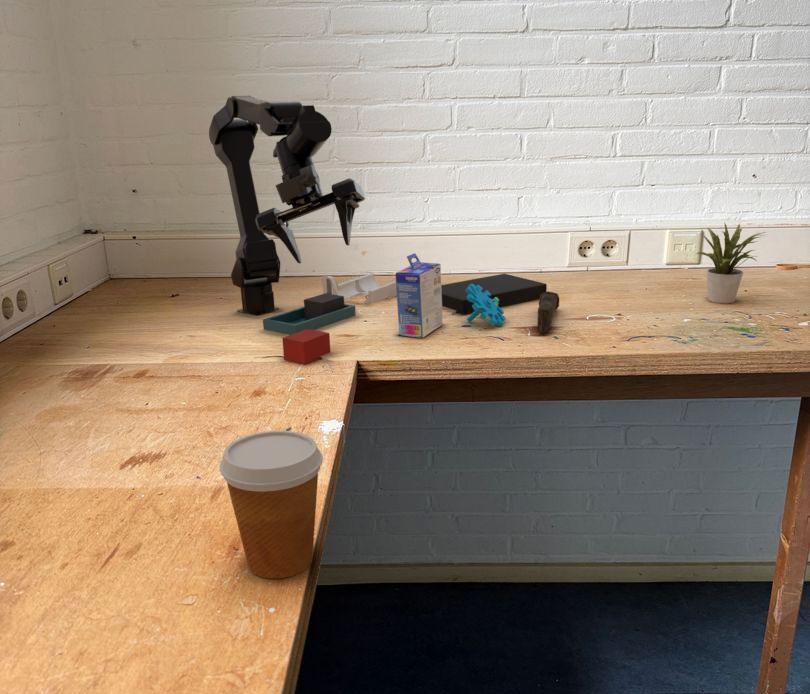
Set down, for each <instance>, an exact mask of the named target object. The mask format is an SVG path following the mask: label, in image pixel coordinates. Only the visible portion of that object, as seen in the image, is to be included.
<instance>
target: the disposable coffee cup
mask: <svg viewBox="0 0 810 694" xmlns="http://www.w3.org/2000/svg"><path fill="white" fill-rule="evenodd" d="M323 459H324V457H323V453H322V452H321V450H319V447H318V445H317V442H316V440H315V439H314V438H313V437H311V436H310V435H308V434H305V433H302V432H298V431H294V430H293V431H291V430H266V431H260V432H259V431H258V432H254V433H251V434H248V435H245V436H242V437H239V438H237V439H235V440H233V441H232V442H229V444H228V445H227V446H225V448H224V451H223V453H222V459H221V460H220V462H219V472H220V474H221V476H222V477H223V479H224V480H225V482H226V484H227V488H228V492H229V496H230V501H231V505H232V508H233V512H234V516H235V520H236V524H237V528H238V532H239V534H240V539H241V543H242V547H243V550H244V551H243V552H244V556H245V559H246V564H247V568H248V570H249V571H250V572H251V573H252V574H254V575H255V576H257V577H260V578H264V579H285V578H290V577H292V576H297V575H299V574H300V573H302V572H304V571H305V570H306V569H307V568H308V567H309V566H310V565H311V564H312V562H313V559H314V558H313V556H314V555H313V554H314V540H315V526H316V513H317V512H316V511H317V510H316V509H317V498H318V497H317V496H318V483H319V482H318V481H319V472H320V470H321V466H322V464H323V461H324V460H323Z"/></svg>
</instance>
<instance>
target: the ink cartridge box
mask: <svg viewBox="0 0 810 694" xmlns="http://www.w3.org/2000/svg"><path fill="white" fill-rule="evenodd" d="M406 259H407V260H408V263H409V266H407V267H405V268H403V269H401V270H399V271H397V272H395V281H396V290H397V296H396V302H397V303H396V304H397V321H398V332H399V333H398V335H399V336H402V337H410V338H420V339H421V338H422V339H423V338H425V337H426V336H428V335H429V334H430V333H432V332H433V331H436V330H437V329H438V328H440V327H442V326H443V324H444V322H443V306H442V289H441V285H442V268H441V267H442V266H441V264H440V263H435V262H422V261H421V260H420V259H419V257H418V255H417V254H416V253H415V252H414V253H412V254H410V255H407V256H406ZM413 259H415V260H416V261H412V260H413Z"/></svg>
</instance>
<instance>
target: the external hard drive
mask: <svg viewBox="0 0 810 694" xmlns="http://www.w3.org/2000/svg"><path fill="white" fill-rule="evenodd" d="M470 284H474V285H475V287H476V286H477V285H479V286H481V287H482V290H481V292H482V293H484V292H485V291H486V290H487V291H488V292H489V293H490V294H491V296H489V298H490V299H494V298H495V297H497V298H498V299H499V301H498V303H499V304H498V307H500V308H502V307H505V306H510V305H514V304H515V305H516V304H521V303H525V302H529V301H534V300H539V297H540V295H541V294H542V293H545V292H548V291H547V289H548V285H547V283H545V282H540V281H537V280H532V279H529V278H525V277H524V278H523V277H521V276H520V277H519V276H517V275H516V276H515V275H512V274H509V273H501V274H495V275H488V276H483V277H478V278H472V279H468V280H467V279H466V280H462V281H456V282H451V283H445V284H441V289H442V307H444V308H447V309H450V310H453V311H455V313H456V314H459V315H463V316H464V315H467V314H472V313H473V312H474V311H475V310H474V309H473V307H472V305H473V304H474V303H473V302H470V301H468V300H467V296H468V295H469V294H467V293H466V292H465V290H466V289H467V288H468V286H469V285H470Z"/></svg>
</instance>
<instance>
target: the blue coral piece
mask: <svg viewBox="0 0 810 694" xmlns="http://www.w3.org/2000/svg"><path fill="white" fill-rule="evenodd" d="M481 290H482V287H481V286H479V285H477V286H476V287H475V285H474V284H470V285H469V286H468V288H467V289H466V290H465V292H466V293H467V294H469V295H468V296H467V300H468V301H470V302H473V303H474V304H473V305H472V307H473V309H474V310H475V311H474V312H473V313H470V315H469V316H467V318H466V321H467V322H468V323H472V322H473V321H474V320H475V319H477V317H481V319H483V320H484V321H485V320H486V319H488V318H489V319H488V323H489V324H491V325H492V326H495V325H497V327H501V326H502V325H503V324H504V321H505V320H507V319H506V317H505V316H504V313H505V311H504V309H503V308H502V307H498V304H499V303H498V301H499V299H498V298H497V297H495V298H494V299H490V298H489V296H491V294H490V293H489V292H488V291H487V290H486V291H485V292H484V293H482V292H481Z"/></svg>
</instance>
